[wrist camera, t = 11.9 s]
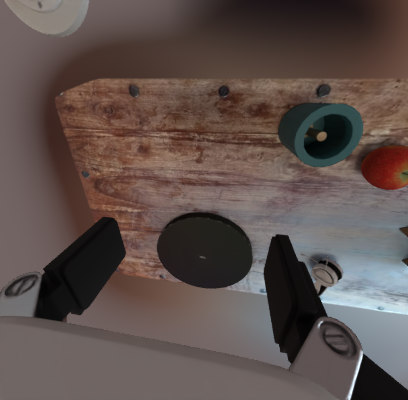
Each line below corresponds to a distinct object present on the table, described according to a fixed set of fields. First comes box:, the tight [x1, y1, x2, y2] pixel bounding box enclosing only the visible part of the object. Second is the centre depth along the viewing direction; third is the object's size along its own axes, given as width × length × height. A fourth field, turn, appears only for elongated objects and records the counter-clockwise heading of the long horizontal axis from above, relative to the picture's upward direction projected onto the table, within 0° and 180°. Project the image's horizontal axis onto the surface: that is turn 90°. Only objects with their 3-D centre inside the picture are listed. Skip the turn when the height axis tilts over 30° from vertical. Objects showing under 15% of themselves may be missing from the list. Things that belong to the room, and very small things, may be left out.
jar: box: [278, 103, 363, 167], centre depth 32 cm, size 9×9×12 cm
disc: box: [157, 213, 253, 288], centre depth 56 cm, size 30×30×3 cm
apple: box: [361, 145, 408, 190], centre depth 33 cm, size 8×8×10 cm
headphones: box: [301, 254, 343, 297], centre depth 49 cm, size 8×10×20 cm
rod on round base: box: [304, 124, 327, 141], centre depth 32 cm, size 4×4×10 cm
